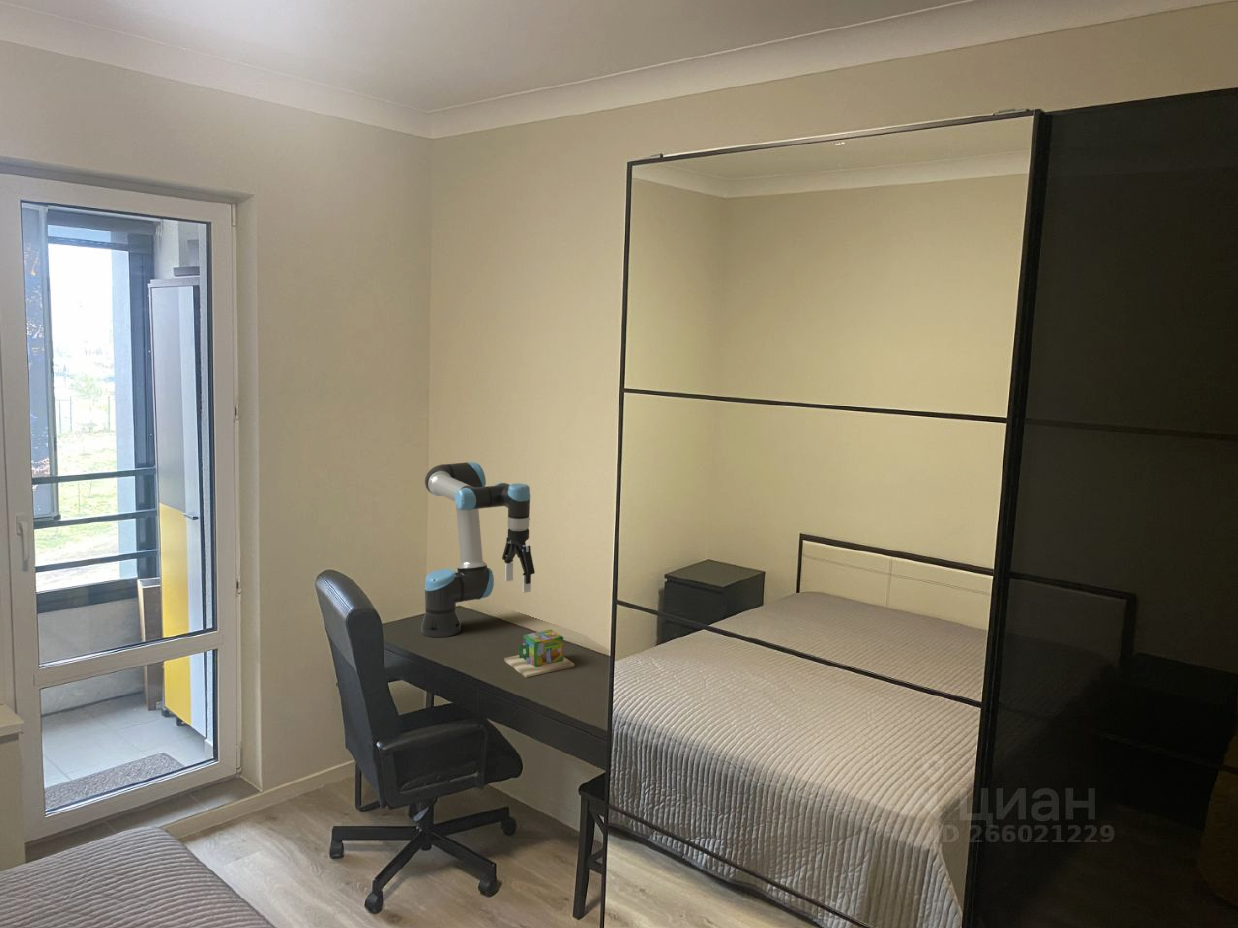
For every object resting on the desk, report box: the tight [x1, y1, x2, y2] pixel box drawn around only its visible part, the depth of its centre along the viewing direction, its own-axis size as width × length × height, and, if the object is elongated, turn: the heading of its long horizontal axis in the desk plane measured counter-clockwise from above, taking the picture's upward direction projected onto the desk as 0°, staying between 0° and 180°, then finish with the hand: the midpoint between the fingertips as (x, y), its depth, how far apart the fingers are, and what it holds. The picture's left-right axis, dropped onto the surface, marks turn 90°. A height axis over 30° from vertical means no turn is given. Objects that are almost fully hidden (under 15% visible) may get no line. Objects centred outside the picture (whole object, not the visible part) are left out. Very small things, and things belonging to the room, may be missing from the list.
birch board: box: [503, 654, 575, 678], centre depth 310 cm, size 17×19×1 cm
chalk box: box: [518, 629, 564, 667], centre depth 310 cm, size 9×9×15 cm
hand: (517, 586), depth 311 cm, fingers open, 13 cm apart
